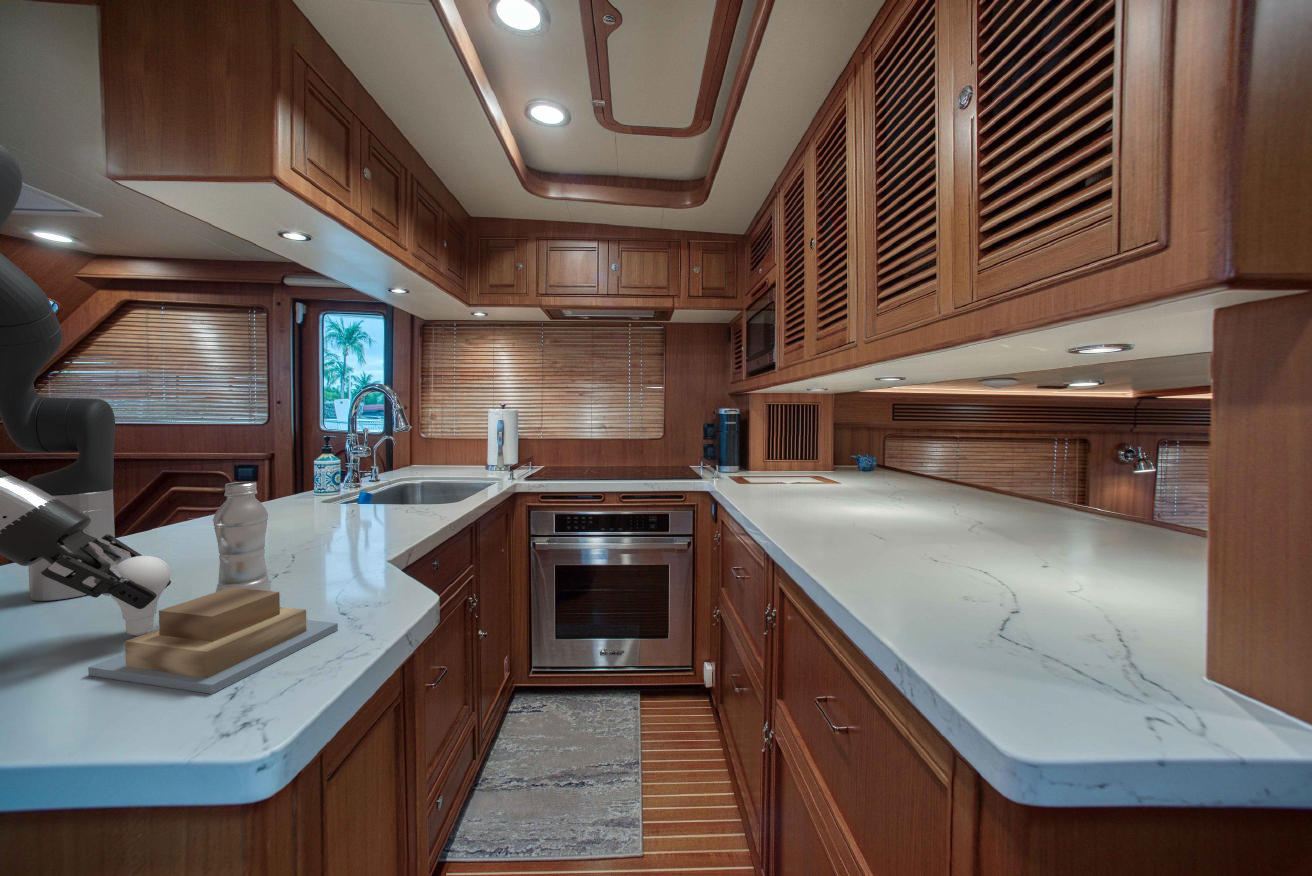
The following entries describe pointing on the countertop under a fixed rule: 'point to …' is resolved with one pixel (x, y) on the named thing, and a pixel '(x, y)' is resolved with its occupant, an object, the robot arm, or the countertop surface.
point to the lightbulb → (150, 576)
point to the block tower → (215, 632)
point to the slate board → (120, 671)
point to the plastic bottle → (241, 539)
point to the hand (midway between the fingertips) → (157, 594)
